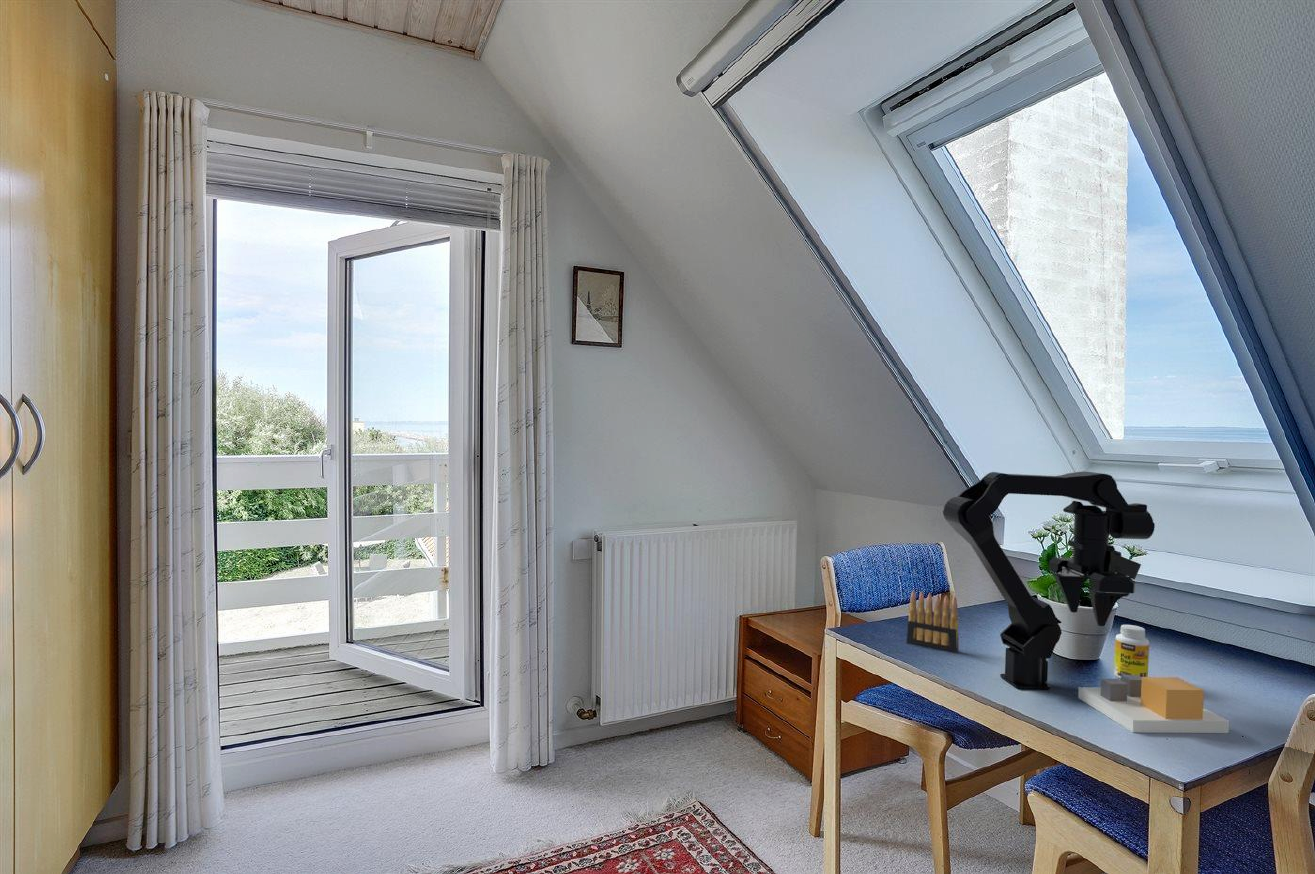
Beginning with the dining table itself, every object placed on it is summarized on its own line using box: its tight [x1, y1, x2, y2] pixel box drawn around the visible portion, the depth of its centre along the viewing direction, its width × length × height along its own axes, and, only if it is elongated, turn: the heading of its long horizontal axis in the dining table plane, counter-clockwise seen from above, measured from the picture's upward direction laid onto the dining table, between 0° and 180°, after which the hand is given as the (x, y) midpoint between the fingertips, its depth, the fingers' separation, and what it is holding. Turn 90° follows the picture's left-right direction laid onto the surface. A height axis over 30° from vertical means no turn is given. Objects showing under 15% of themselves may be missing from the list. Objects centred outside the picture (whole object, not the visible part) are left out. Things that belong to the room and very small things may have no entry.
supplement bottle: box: [1113, 624, 1150, 680], centre depth 139 cm, size 6×6×10 cm
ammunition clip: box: [905, 589, 959, 654], centre depth 155 cm, size 11×2×12 cm, turn 53°
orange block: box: [1141, 676, 1205, 719], centre depth 118 cm, size 6×6×5 cm
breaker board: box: [1077, 675, 1230, 734], centre depth 121 cm, size 16×14×5 cm
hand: (1086, 618), depth 135 cm, fingers open, 9 cm apart
